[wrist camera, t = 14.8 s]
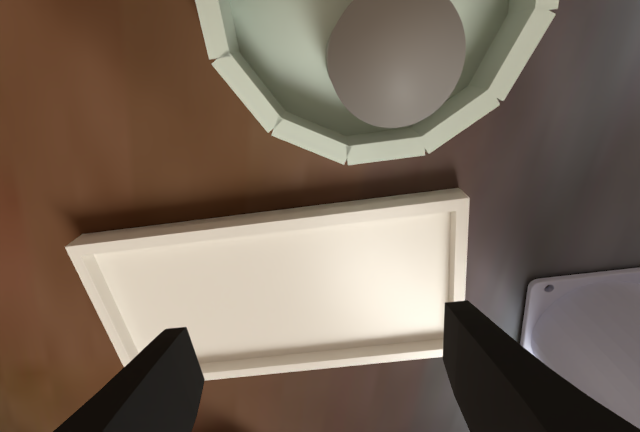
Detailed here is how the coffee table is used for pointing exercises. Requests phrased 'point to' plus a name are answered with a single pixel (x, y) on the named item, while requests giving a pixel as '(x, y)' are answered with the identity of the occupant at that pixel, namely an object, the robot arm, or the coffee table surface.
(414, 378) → the coffee table surface
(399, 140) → the celadon bowl
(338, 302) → the parts tray
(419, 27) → the pebble
